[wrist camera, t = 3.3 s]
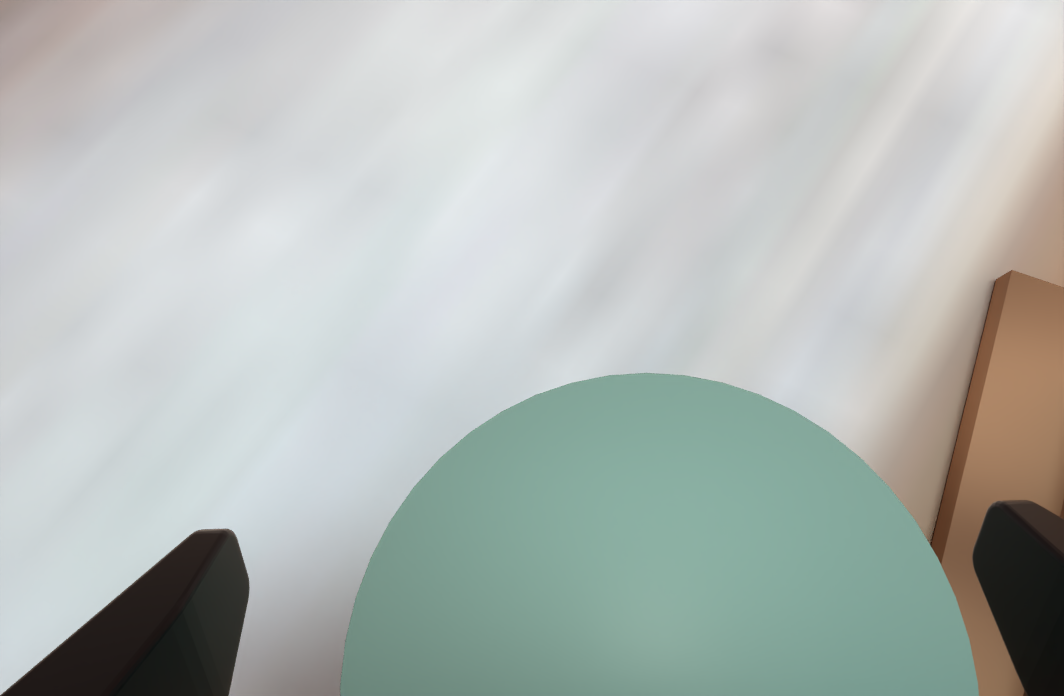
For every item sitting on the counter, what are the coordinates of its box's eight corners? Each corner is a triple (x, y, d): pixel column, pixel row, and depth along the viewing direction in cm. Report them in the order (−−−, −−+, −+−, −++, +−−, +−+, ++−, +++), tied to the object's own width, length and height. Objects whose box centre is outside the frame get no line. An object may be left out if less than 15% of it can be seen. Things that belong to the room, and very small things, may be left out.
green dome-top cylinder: (756, 604, 16) (1109, 683, 6) (585, 799, 15) (681, 1253, 5) (578, 430, 17) (642, 261, 7) (406, 604, 16) (207, 685, 6)
